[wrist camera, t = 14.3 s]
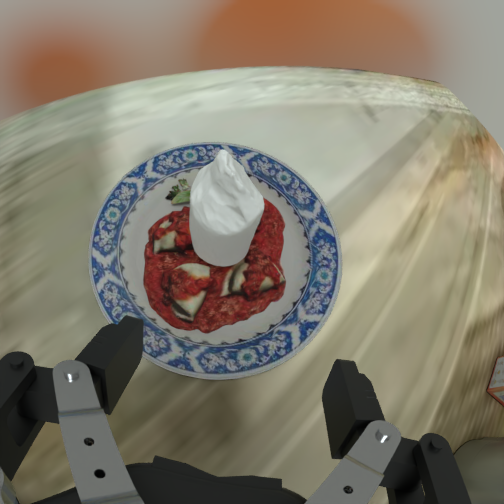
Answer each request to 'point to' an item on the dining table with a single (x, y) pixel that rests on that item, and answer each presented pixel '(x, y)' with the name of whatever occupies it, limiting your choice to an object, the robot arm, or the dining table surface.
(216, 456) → the dining table surface
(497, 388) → the cracker box
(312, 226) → the ceramic plate
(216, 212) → the white peaked cylinder
